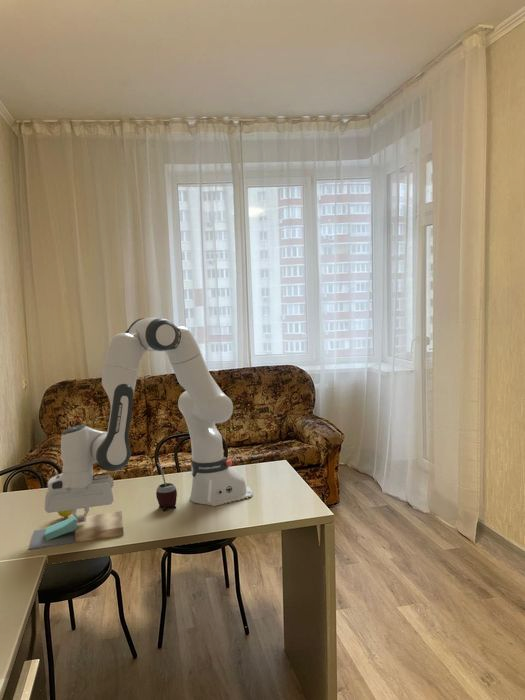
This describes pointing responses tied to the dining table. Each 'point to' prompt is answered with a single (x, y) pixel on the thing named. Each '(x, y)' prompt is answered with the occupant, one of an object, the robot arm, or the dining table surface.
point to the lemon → (65, 513)
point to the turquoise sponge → (61, 528)
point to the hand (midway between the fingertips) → (81, 521)
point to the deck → (100, 527)
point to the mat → (41, 541)
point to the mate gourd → (166, 494)
